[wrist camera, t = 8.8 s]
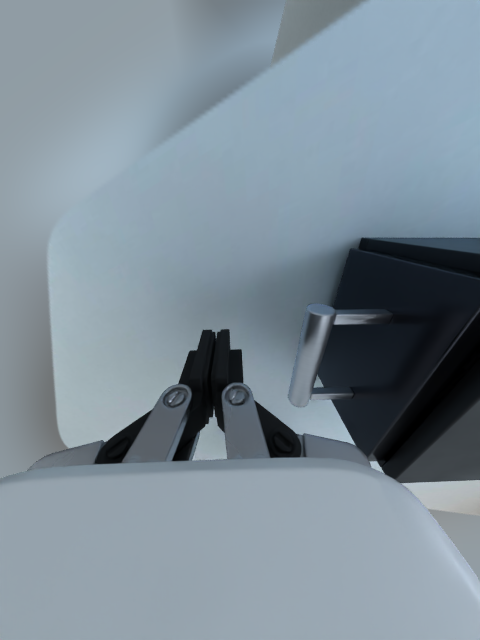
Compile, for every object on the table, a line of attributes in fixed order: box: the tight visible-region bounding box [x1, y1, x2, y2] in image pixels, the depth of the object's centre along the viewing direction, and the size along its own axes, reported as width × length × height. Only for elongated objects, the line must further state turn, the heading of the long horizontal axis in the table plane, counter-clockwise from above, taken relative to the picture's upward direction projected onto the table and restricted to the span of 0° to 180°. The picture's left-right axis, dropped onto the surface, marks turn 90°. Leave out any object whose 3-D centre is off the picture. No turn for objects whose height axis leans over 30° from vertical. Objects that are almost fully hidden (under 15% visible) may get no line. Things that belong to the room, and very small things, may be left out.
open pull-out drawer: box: [288, 248, 480, 461], centre depth 12 cm, size 18×11×8 cm, turn 90°
